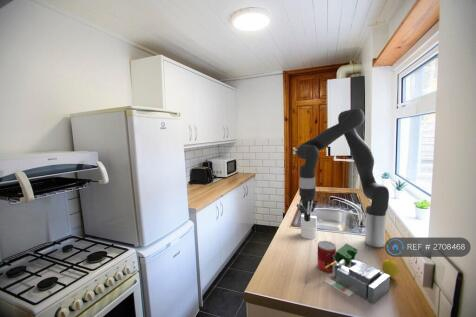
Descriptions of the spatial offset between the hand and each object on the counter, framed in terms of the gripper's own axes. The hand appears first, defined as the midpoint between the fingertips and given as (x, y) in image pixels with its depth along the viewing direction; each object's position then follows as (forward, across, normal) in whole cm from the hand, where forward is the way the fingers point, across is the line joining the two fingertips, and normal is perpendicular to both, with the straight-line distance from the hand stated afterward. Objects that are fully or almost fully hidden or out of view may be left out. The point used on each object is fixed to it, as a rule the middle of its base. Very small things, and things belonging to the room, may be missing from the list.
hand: (307, 220), depth 113 cm
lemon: (+19, -15, +31) cm, 39 cm away
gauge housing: (+19, 0, +27) cm, 33 cm away
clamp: (+19, -13, +13) cm, 26 cm away
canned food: (+19, 0, +11) cm, 22 cm away
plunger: (+19, +3, +21) cm, 28 cm away
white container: (+19, -20, -15) cm, 31 cm away
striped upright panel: (+19, +8, +22) cm, 30 cm away
